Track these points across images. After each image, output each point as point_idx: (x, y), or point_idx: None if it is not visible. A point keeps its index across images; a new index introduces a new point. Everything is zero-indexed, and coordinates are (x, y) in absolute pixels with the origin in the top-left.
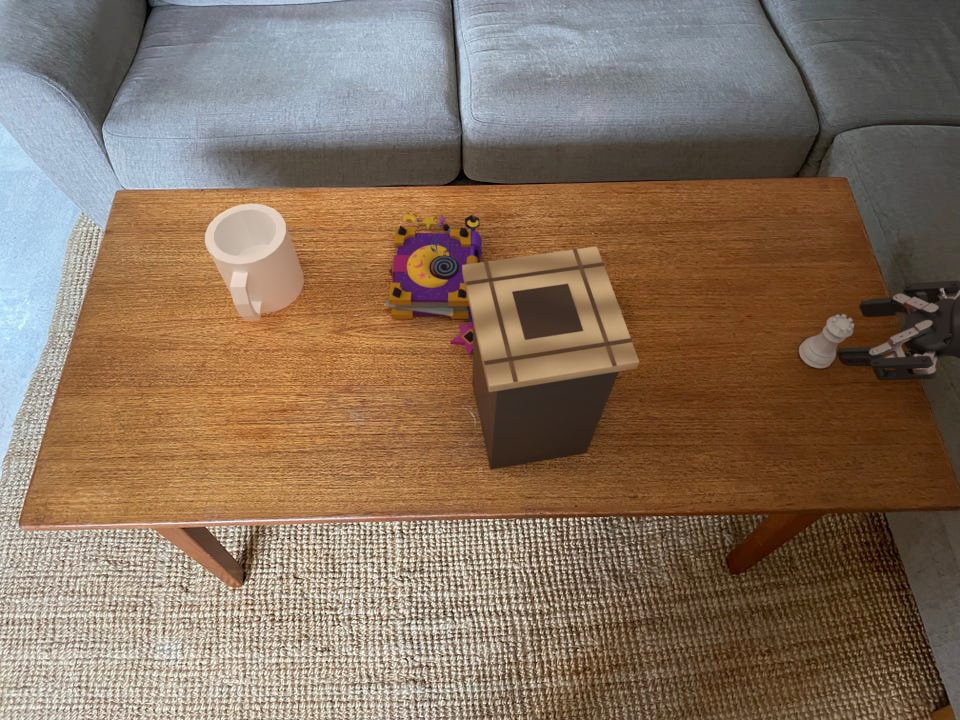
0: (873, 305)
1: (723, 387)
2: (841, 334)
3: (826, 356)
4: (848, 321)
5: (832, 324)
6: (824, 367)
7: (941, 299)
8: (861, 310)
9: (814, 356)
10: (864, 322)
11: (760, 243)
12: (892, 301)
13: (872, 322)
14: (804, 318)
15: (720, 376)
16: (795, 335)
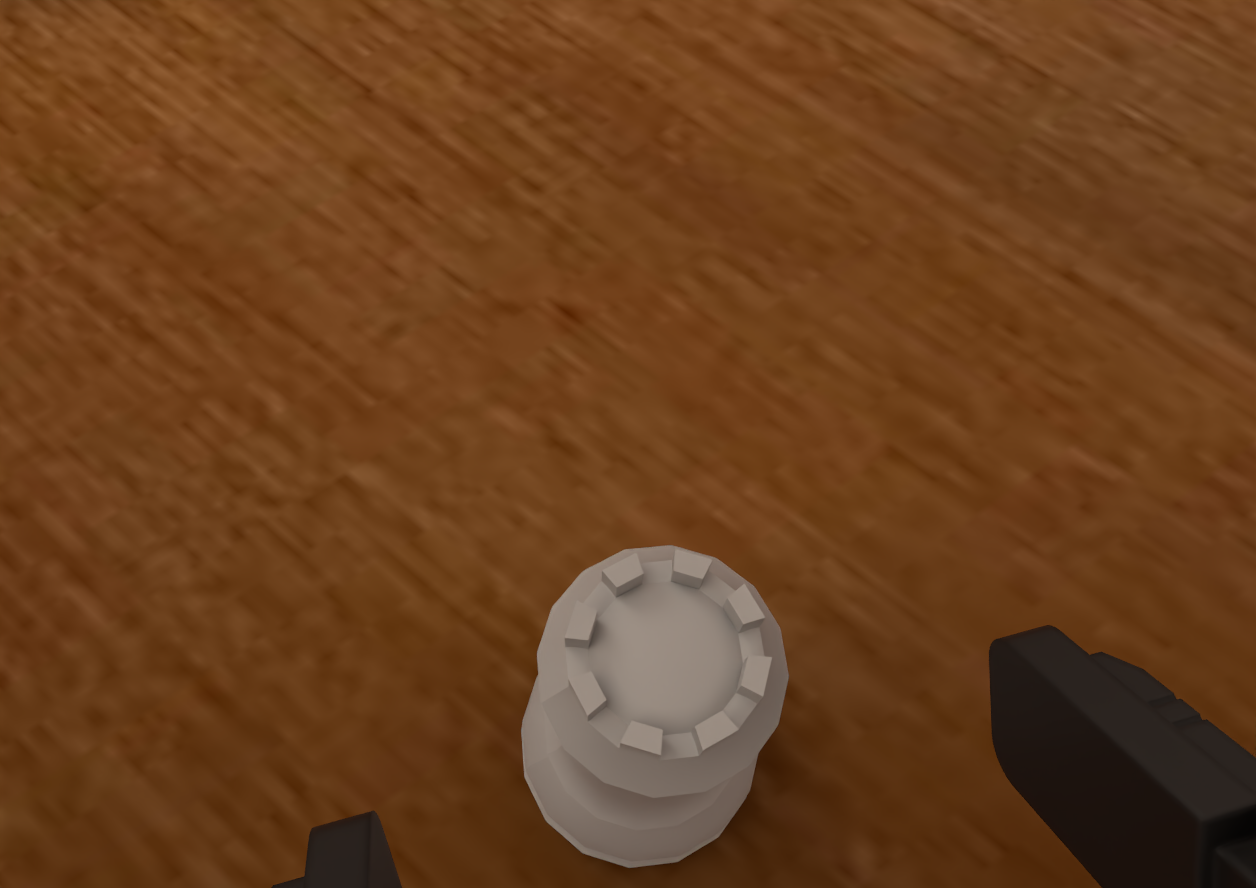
0: (1072, 724)
1: (4, 504)
2: (572, 725)
3: (582, 799)
4: (738, 677)
5: (592, 596)
6: (589, 852)
7: None
8: (992, 693)
9: (540, 738)
10: None
11: (1032, 92)
12: (1249, 834)
13: None
14: (833, 528)
15: (67, 447)
16: None
